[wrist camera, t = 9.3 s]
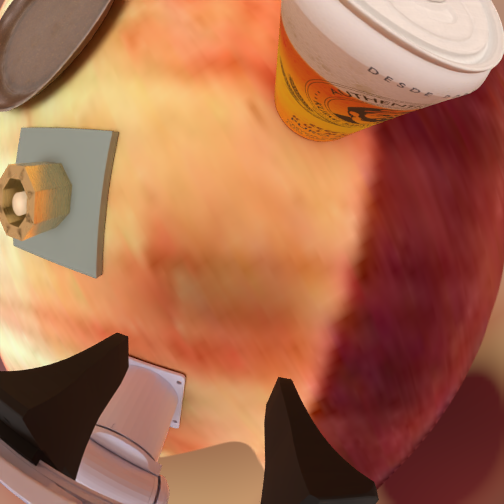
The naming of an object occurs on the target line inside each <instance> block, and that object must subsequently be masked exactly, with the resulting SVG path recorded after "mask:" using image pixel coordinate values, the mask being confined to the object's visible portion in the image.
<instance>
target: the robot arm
mask: <svg viewBox="0 0 504 504" xmlns="http://www.w3.org/2000/svg"><path fill="white" fill-rule="evenodd" d="M185 379H186V378H185V376H184V375H183V374H180V373H177V372H174V371H171V370H167V369H164V368H161V367H158V366H155V365H152V364H149V363H146V362H143V361H140V360H138V359H135V358H132V357H130V356H129V355H128V336H125V335H122V334H120V333H116V334H114V335H112V336H110V337H108V338H106V339H105V340H103V341H101V342H99V343H98V344H96V345H94V346H92V347H90V348H88V349H86V350H85V351H83V352H80V353H78V354H76V355H74V356H72V357H70V358H67V359H65V360H62V361H59V362H56V363H53V364H50V365H46V366H42V367H38V368H34V369H28V370H20V371H0V483H2V484H3V485H4V486H5V487H6V488H8V489H9V490H10V491H11V492H12V493H14V494H15V495H16V496H17V497H19V498H20V499H21V500H23V501H24V502H25V503H27V504H167V503H168V499H169V486H168V484H167V480H166V479H165V477H164V476H162V475H160V474H159V473H160V470H161V467H162V465H161V464H159V463H157V462H158V459H159V456H160V453H161V451H162V448H163V445H164V442H165V439H166V436H167V434H168V431H169V428H170V427H173V428H179V425H180V417H181V409H182V401H183V394H184V386H185ZM179 381H180V382H179ZM264 427H265V473H264V483H263V490H262V498H261V504H376V503H377V501H378V500H379V499H378V495H377V489H376V486H375V483H374V482H373V481H372V480H370V479H369V478H367V477H366V476H364V475H363V474H361V473H360V472H359V471H357V470H356V469H355V468H354V467H352V466H351V465H350V464H349V463H348V462H346V461H345V460H344V459H343V458H342V457H341V456H340V455H339V454H338V453H337V452H336V451H335V450H334V449H333V448H332V447H331V445H330V444H329V443H328V442H327V441H326V439H325V438H324V437H323V435H322V434H321V433H320V431H319V430H318V428H317V427H316V425H315V424H314V422H313V421H312V419H311V417H310V416H309V414H308V412H307V410H306V408H305V407H304V405H303V403H302V401H301V399H300V397H299V395H298V392H297V390H296V388H295V386H294V384H293V381H292V380H291V379H287V378H281V377H278V379H277V382H276V384H275V386H274V389H273V391H272V393H271V395H270V398H269V400H268V402H267V404H266V412H265V422H264Z"/></svg>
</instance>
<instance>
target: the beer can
mask: <svg viewBox="0 0 504 504" xmlns="http://www.w3.org/2000/svg"><path fill="white" fill-rule="evenodd" d="M503 53H504V31H503V27H502V23H501V20H500V18H499V15H498V13H497V11H496V8H495V6H494V5H493V3H492V1H491V0H282V2H281V16H280V29H279V43H278V56H277V68H276V81H275V95H274V98H275V105H276V108H277V111H278V113H279V115H280V117H281V119H282V120H283V122H284V123H285V124H286V125H287V126H288V127H289V128H290V129H291V130H292V131H294V132H295V133H297V134H298V135H300V136H302V137H304V138H307V139H310V140H314V141H323V142H325V141H333V140H337V139H340V138H342V137H345V136H347V135H350V134H352V133H355V132H357V131H360V130H362V129H365V128H368V127H370V126H373V125H375V124H378V123H381V122H384V121H386V120H389V119H392V118H395V117H397V116H400V115H403V114H406V113H409V112H412V111H415V110H418V109H421V108H424V107H427V106H430V105H433V104H436V103H439V102H443V101H446V100H449V99H452V98H456V97H459V96H463V95H466V94H469V93H471V92H473V91H475V90H476V89H477V88H479V87H480V86H481V85H482V83H483V82H484V81H485V79H486V78H487V76H488V74H489V72H490V70H491V68H494V67H495V66H496V65H497V64H498V63H499V62H500V60H501V59H502V56H503Z"/></svg>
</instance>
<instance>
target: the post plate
mask: <svg viewBox="0 0 504 504" xmlns="http://www.w3.org/2000/svg"><path fill="white" fill-rule="evenodd" d="M118 135H119V132H114V131H103V130H90V129H72V128H21V133H20V139H19V145H18V152H17V159H16V164H19V163H30V162H43V161H46V162H54V163H61V164H62V166H63V168H64V170H65V172H66V174H67V176H68V178H69V180H70V182H71V184H72V193H71V204H70V213H69V214H68V215H67V216H66V217H65V219H64V220H63V221H62V222H61V223H60V224H59V225H58V226H57V227H56V228H54V229H51V230H49V231H46V232H44V233H41V234H38V235H36V236H33V237H31V238H28V239H26V240H23V241H20V240H18V239H15V238H13V243H14V246H16V247H18V248H20V249H23V250H25V251H27V252H30V253H32V254H34V255H37V256H39V257H42V258H44V259H46V260H49V261H51V262H54V263H56V264H59V265H61V266H64V267H67V268H69V269H72V270H74V271H77V272H80V273H82V274H85V275H88V276H91V277H93V278H98V277H99V276H100V275H102V259H103V241H104V227H105V217H106V207H107V199H108V191H109V184H110V177H111V171H112V165H113V160H114V154H115V149H116V144H117V139H118ZM12 206H13V210H14V212H15V214H16V215H18V216H20V215H24V214H26V206H27V195H26V193H25V191H23V192H18V193H16V194H15V195H14V197H13V201H12Z"/></svg>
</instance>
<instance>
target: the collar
mask: <svg viewBox="0 0 504 504" xmlns="http://www.w3.org/2000/svg"><path fill="white" fill-rule="evenodd" d="M23 191H25V193H26V195H27V206H26V214H24V215H20V216H18V215H16V214H15V212H14V210H13V206H12V201H13V197H14V195H15V194H16V193H18V192H23ZM71 193H72V184H71V182H70V180H69V178H68V176H67V174H66V172H65V170H64V168H63V166H62V164H61V163H54V162H46V161H43V162H30V163H19V164H9V165H8V167H7V168H6V170H5V172H4V173H3V175H2V177H1V178H0V221H1V223H2V226H3V228H4V230H5V232H6V235H8V236H10V237H13V238H15V239H18V240H20V241H23V240H26V239H28V238H31V237H33V236H36V235H38V234H41V233H44V232H46V231H49V230H51V229H54V228H56V227H57V226H58V225H59V224H60V223H61V222H62V221H63V220H64V219H65V217H66V216H67V215H68V214H69V213H70V204H71Z"/></svg>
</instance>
